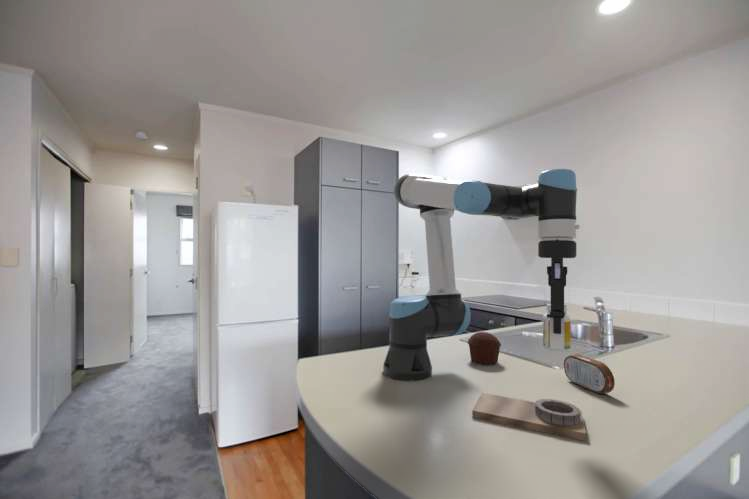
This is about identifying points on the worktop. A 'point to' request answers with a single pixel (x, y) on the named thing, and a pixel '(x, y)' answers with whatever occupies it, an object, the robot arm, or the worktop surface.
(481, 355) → the muffin
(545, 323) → the supplement bottle
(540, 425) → the board
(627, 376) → the worktop surface
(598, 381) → the tin
